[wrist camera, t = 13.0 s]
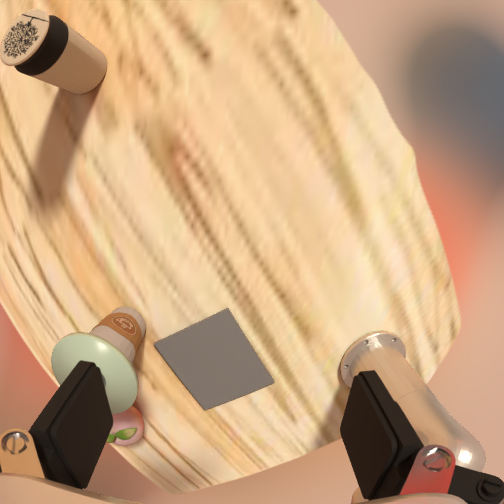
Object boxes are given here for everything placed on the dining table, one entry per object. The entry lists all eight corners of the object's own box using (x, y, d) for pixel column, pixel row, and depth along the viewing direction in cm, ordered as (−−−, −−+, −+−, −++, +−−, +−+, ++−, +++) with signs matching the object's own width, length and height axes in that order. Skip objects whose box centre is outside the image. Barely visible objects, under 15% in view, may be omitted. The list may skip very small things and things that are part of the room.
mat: (274, 380, 52) (274, 382, 51) (205, 408, 53) (204, 410, 53) (227, 307, 48) (227, 309, 48) (154, 342, 50) (153, 344, 49)
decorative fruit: (127, 428, 55) (114, 461, 45) (100, 401, 53) (82, 433, 43) (159, 414, 54) (149, 451, 44) (131, 386, 52) (115, 421, 42)
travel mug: (86, 103, 40) (17, 77, 23) (57, 81, 39) (-11, 54, 21) (117, 62, 39) (61, 16, 21) (86, 42, 37) (28, -1, 20)
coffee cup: (161, 318, 49) (134, 370, 34) (140, 353, 50) (111, 408, 36) (117, 289, 47) (75, 332, 33) (99, 326, 49) (59, 375, 34)
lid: (157, 395, 35) (147, 425, 30) (93, 417, 36) (80, 442, 31) (98, 317, 32) (77, 340, 27) (39, 350, 33) (19, 371, 28)
